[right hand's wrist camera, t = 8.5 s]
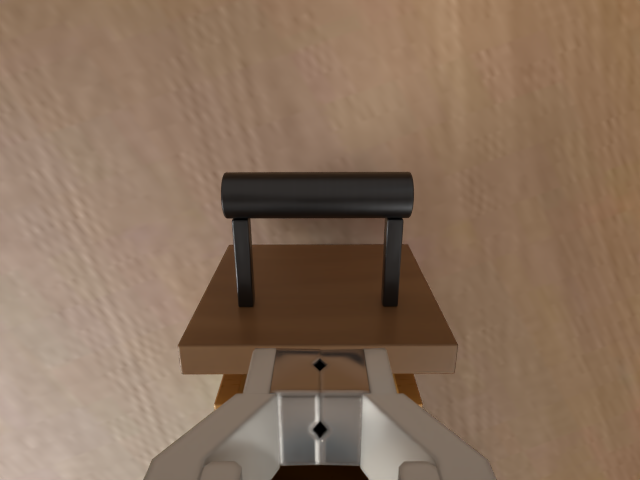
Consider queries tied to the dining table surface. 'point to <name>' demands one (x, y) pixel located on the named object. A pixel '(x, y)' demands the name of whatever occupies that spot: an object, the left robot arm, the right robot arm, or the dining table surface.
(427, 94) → the dining table surface
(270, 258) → the drawer
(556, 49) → the dining table surface
